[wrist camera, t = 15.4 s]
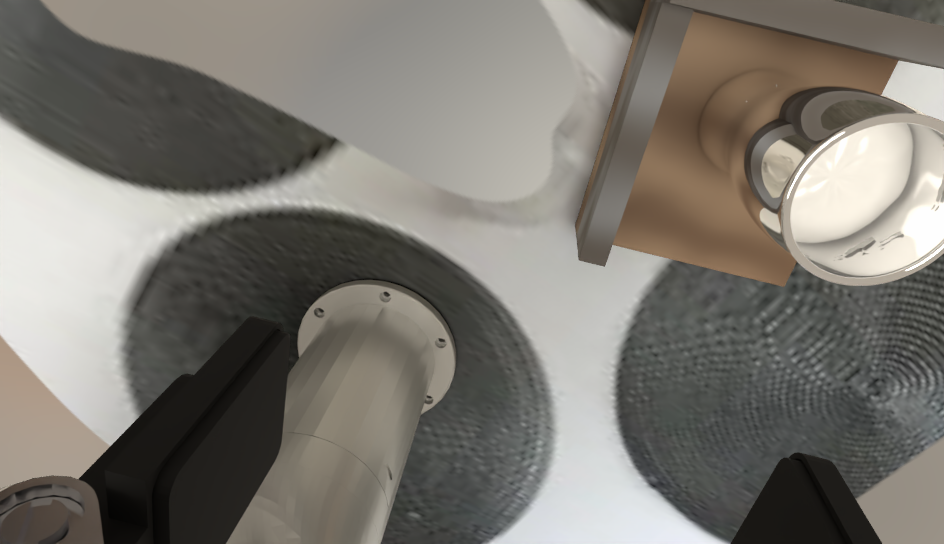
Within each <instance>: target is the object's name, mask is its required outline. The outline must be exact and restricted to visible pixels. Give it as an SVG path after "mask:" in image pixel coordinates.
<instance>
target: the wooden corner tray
mask: <svg viewBox="0 0 944 544" xmlns="http://www.w3.org/2000/svg"><path fill="white" fill-rule="evenodd" d="M898 61H905V62H910V63H915V64H921V65H926V66H932V67H937V68H942V69H944V26H941V25H936V24H932V23H928V22H924V21H919V20H915V19H911V18H907V17H902V16H898V15H894V14H890V13H885V12H881V11H877V10H872V9H868V8H864V7H860V6H855V5H851V4H847V3H843V2H838V1H834V0H645V3H644V6H643V9H642V13H641V16H640V19H639V22H638V25H637V29H636V32H635V35H634V38H633V42H632V45H631V48H630V51H629V54H628V58H627V61H626V64H625V67H624V70H623V74H622V77H621V80H620V83H619V86H618V90H617V93H616V96H615V99H614V102H613V106H612V109H611V112H610V115H609V119H608V122H607V125H606V128H605V131H604V135H603V138H602V141H601V144H600V147H599V151H598V154H597V157H596V160H595V163H594V167H593V170H592V173H591V176H590V180H589V183H588V186H587V189H586V192H585V196H584V199H583V202H582V205H581V208H580V212H579V215H578V218H577V221H576V224H575V228H576V238H577V247H578V257H579V260H580V261H584V262H588V263H592V264H596V265H600V266H604V267H605V265H606V262H607V259H608V256H609V253H610V250H611V247H612V245H616V246H620V247H624V248H628V249H632V250H636V251H640V252H644V253H648V254H652V255H656V256H661V257H665V258H669V259H673V260H677V261H681V262H685V263H689V264H693V265H697V266H701V267H706V268H710V269H714V270H718V271H722V272H726V273H730V274H734V275H738V276H742V277H746V278H751V279H755V280H759V281H763V282H767V283H771V284H775V285H779V286H783V287H784V286H785V284H786V282H787V280H788V278H789V276H790V274H791V272H792V270H793V268H794V266H795V264H796V262H797V261H796V260H795V259H794V258H793V257H791V256H790V255H789V254H787V253H786V252H785V251H784V250H782V249H781V248H780V247H779V246H778V245H776V244H775V243H774V242H773V241H772V240H771V239H770V238H769V237H768V236H767V235H766V234H765V233H764V232H763V231H762V230H761V229H760V228H759V227H758V226H757V225H756V224H755V222H754V221H753V220H752V218H751V217H750V216H749V214H748V213H747V212H746V210H745V209H744V207H743V205H742V203H741V201H740V199H739V197H738V195H737V193H736V190H735V188H734V185H733V181H732V178H731V175H730V174H729V173H726V172H724V171H722V170H720V169H719V168H717V167H716V166H715V165H714V164H713V163H711V162H710V160H709V159H708V158H707V157H706V155H705V153H704V151H703V149H702V147H701V144H700V139H699V124H700V119H701V115H702V113H703V110H704V108H705V106H706V104H707V102H708V101H709V99H710V98H711V97H712V95H713V94H714V93H715V92H716V91H717V90H718V89H719V88H720V87H721V86H722V85H724V84H725V83H726V82H728V81H729V80H731V79H733V78H735V77H737V76H739V75H742V74H744V73H748V72H752V71H759V70H768V71H775V72H779V73H782V74H784V75H786V76H788V77H790V78H791V79H793V80H794V81H796V82H797V83H798V84H799V85H800V86H801V87H804V86H818V85H828V86H847V87H853V88H858V89H862V90H867V91H871V92H875V93H878V94H882V92H883V90H884V88H885V86H886V84H887V82H888V80H889V78H890V76H891V74H892V72H893V70H894V68H895V66H896V64H897V63H898Z"/></svg>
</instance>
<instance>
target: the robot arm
mask: <svg viewBox="0 0 944 544" xmlns="http://www.w3.org/2000/svg"><path fill="white" fill-rule="evenodd" d="M386 292H387V293H389V294H387V293H386ZM441 338H442V339H441ZM290 344H291V336H290V334H289V333H285V332H283V327H282V324H281V323H278V322H274V321H270V320H266V319H262V318H258V317H254V316H252V317H249V318H248V319H247V320H246V321H245V322H244V323H243V324H242V325H241V326H240V327H239V328H238V329H237V330H236V331H235V333H234V334H233V335H232V336H231V337H230V338H229V339H228V340H227V341H226V342H225V343H224V344H223V345H222V346H221V347H220V348H219V350H218V351H217V352H216V353H215V354H214V355H213V356H212V357H211V358H210V359H209V360H208V361H207V362H206V363H205V364H204V365H203V367H202V368H201V369H200V370H199V371H198V372H197V373H196V374H195V375H190V374H184V375H181V376H180V377H179V378H177V379H176V380H175V381H174V382H173V383H172V384H171V385H170V386H169V387H168V388H167V389H166V390H165V391H164V392H163V393H162V394H161V395H160V396H159V397H158V398H157V399H156V400H155V401H154V402H153V403H152V404H151V406H150V407H149V408H148V409H147V410H146V411H145V412H144V413H143V414H142V415H141V416H140V417H139V418H138V419H137V420H136V421H135V422H134V423H133V424H132V425H131V426H130V427H129V428H128V429H127V430H126V431H125V432H124V433H123V434H122V435H121V436H120V437H119V438H118V439H117V440H116V441H115V442H114V443H113V444H112V445H111V446H110V447H109V448H108V450H106V452H105V453H104V454H103V455H102V456H101V457H100V458H99V459H98V460H97V461H96V462H95V463H94V464H93V465H92V466H91V467H90V468H89V469H88V470H87V471H86V472H85V473H84V474H83V475H82V476H81V477H80V478H79V479H75V478H72V477H67V476H46V477H39V478H32V479H30V480H27V481H23V482H20V483H17V484H13V485H9V486H6V487H3V488H0V544H381V541H382V538H383V534H384V531H385V528H386V524H387V521H388V518H389V515H390V512H391V509H392V506H393V502H394V499H395V496H396V493H397V489H398V486H399V483H400V480H401V477H402V473H403V470H404V467H405V464H406V461H407V457H408V454H409V451H410V448H411V445H412V441H413V438H414V435H415V432H416V429H417V425H418V422H419V419H420V416H421V414H423V413H425V412H426V411H428V410H430V409H431V408H433V407H434V406H435V405H436V404H437V403H438V402H439V401H440V400H441V399H442V398H443V397H444V395H445V394H446V392H447V391H448V389H449V387H450V385H451V382H452V379H453V376H454V372H455V367H456V348H455V343H454V338H453V336H452V334H451V331H450V329H449V327H448V325H447V323H446V322H445V320H444V319H443V317H442V316H441V315H440V313H439V312H438V311H437V310H436V309H435V308H434V307H433V306H432V305H431V304H430V303H429V302H428V301H426V300H425V299H423V298H422V297H421V296H419V295H418V294H416V293H415V292H413V291H411V290H408V289H406V288H404V287H402V286H400V285H396V284H393V283H389V282H386V281H377V280H356V281H351V282H347V283H343V284H340V285H338V286H336V287H334V288H332V289H330V290H328V291H326V292H325V293H324V294H323V295H321V296H320V297H319V298H317V300H316V301H315V302H314V303H313V304H312V306H311V307H310V308H309V310H308V311H307V313H306V314H305V316H304V317H303V319H302V322H301V325H300V328H299V331H298V341H297V346H298V354H299V360H298V361H297V362H296V364H295V365H294V367H293V368H292V370H291V371H290V372H289V374H288V367H289V356H290ZM731 544H882V542H881V541H880V539H879V537H878V536H877V534H876V533H875V531H874V529H873V528H872V526H871V524H870V523H869V521H868V519H867V518H866V516H865V515H864V513H863V511H862V509H861V508H860V506H859V504H858V503H857V501H856V499H855V498H854V496H853V494H852V493H851V491H850V489H849V488H848V486H847V484H846V483H845V481H844V480H843V478H842V476H841V475H840V473H839V471H838V470H837V468H836V466H835V465H834V464H833V463H832V462H831V461H829V460H826V459H822V458H818V457H814V456H810V455H806V454H802V453H794V454H792V455H791V456H790V457H789V458H783V459H781V460H780V461H779V463H778V464H777V466H776V468H775V469H774V471H773V473H772V474H771V476H770V478H769V480H768V481H767V483H766V485H765V486H764V488H763V490H762V491H761V493H760V495H759V497H758V498H757V500H756V502H755V503H754V505H753V507H752V508H751V510H750V512H749V513H748V515H747V517H746V519H745V520H744V522H743V524H742V525H741V527H740V529H739V530H738V532H737V534H736V536H735V537H734V539H733V541H732V542H731Z"/></svg>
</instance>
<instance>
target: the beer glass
mask: <svg viewBox="0 0 944 544" xmlns="http://www.w3.org/2000/svg"><path fill="white" fill-rule="evenodd" d="M699 139H700V144H701V147H702V149H703V151H704V153H705V155H706V157H707V158H708V159H709V160H710V162H711V163H713V164H714V165H715V166H716V167H717V168H719V169H720V170H722V171H724V172H726V173H729V174H730V175H731V178H732V181H733V185H734V188H735V190H736V193H737V195H738V197H739V199H740V201H741V203H742V205H743V207H744V209H745V210H746V212H747V213H748V214H749V216H750V217H751V218H752V220H753V221H754V222H755V224H756V225H757V226H758V227H759V228H760V229H761V230H762V231H763V232H764V233H765V234H766V235H767V236H768V237H769V238H770V239H771V240H772V241H773V242H774V243H775V244H776V245H778V246H779V247H780V248H781V249H782V250H784V251H785V252H786V253H787V254H789V255H790V256H791V257H793V258H794V259H795V260H796V261H797V262H798V263H799V264H800V265H801V266H802V267H803V268H805V269H806V270H807V271H809V272H810V273H812V274H813V275H815V276H817V277H819V278H821V279H824V280H826V281H829V282H833V283H837V284H842V285H850V286H868V285H877V284H882V283H887V282H891V281H894V280H897V279H900V278H903V277H905V276H908V275H910V274H912V273H914V272H916V271H918V270H920V269H922V268H924V267H925V266H927V265H929V264H930V263H932V262H933V261H934V260H936V259H937V258H938V257H940V256H941V255H942V254H943V253H944V122H943V121H941V120H939V119H936V118H933V117H930V116H928V115H926V114H924V113H922V112H920V111H918V110H916V109H914V108H912V107H910V106H908V105H906V104H904V103H902V102H899V101H897V100H894V99H892V98H889V97H886V96H884V95H881V94H878V93H875V92H871V91H867V90H862V89H858V88H853V87H847V86H828V85H818V86H804V87H801V86H800V85H799V84H798V83H797V82H796V81H794V80H793V79H791V78H790V77H788V76H786V75H784V74H782V73H779V72H775V71H768V70H759V71H752V72H748V73H744V74H742V75H739V76H737V77H735V78H733V79H731V80H729V81H728V82H726V83H725V84H724V85H722V86H721V87H720V88H719V89H718V90H717V91H716V92H715V93H714V94H713V95H712V97H711V98H710V99H709V101H708V102H707V104H706V106H705V108H704V110H703V113H702V115H701V119H700V124H699Z"/></svg>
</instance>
